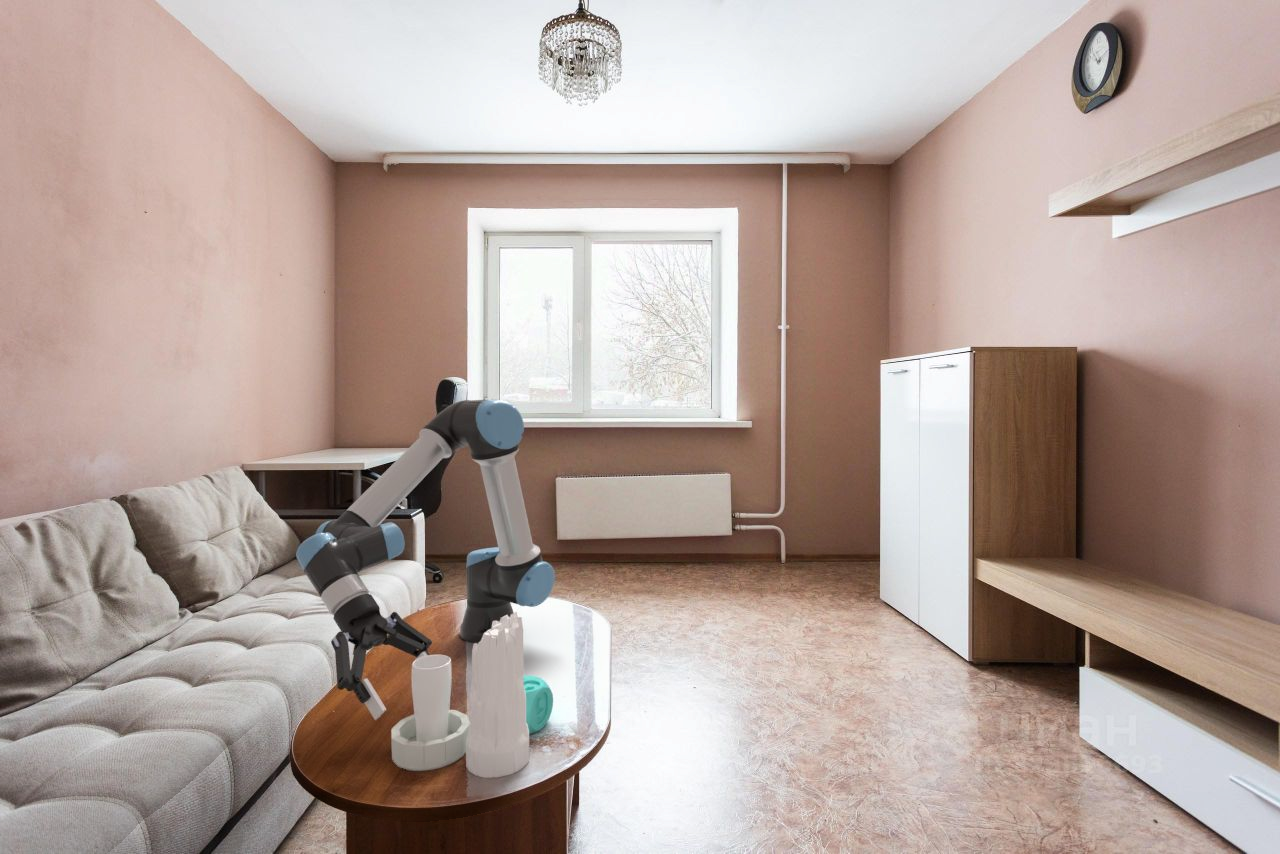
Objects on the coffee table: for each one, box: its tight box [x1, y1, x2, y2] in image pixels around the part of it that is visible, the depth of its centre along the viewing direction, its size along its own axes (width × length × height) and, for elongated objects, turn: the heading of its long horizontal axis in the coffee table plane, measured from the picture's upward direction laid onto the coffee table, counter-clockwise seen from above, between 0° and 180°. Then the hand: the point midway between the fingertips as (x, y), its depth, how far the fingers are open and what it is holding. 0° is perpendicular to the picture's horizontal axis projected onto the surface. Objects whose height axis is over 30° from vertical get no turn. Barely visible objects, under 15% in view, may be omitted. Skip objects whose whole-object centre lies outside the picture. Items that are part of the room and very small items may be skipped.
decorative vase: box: [465, 611, 530, 779], centre depth 109 cm, size 11×11×25 cm
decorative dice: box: [523, 675, 554, 735], centre depth 121 cm, size 8×8×8 cm
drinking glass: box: [411, 654, 453, 742], centre depth 112 cm, size 7×7×15 cm
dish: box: [390, 709, 470, 772], centre depth 112 cm, size 13×13×4 cm
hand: (411, 698), depth 114 cm, fingers open, 13 cm apart
